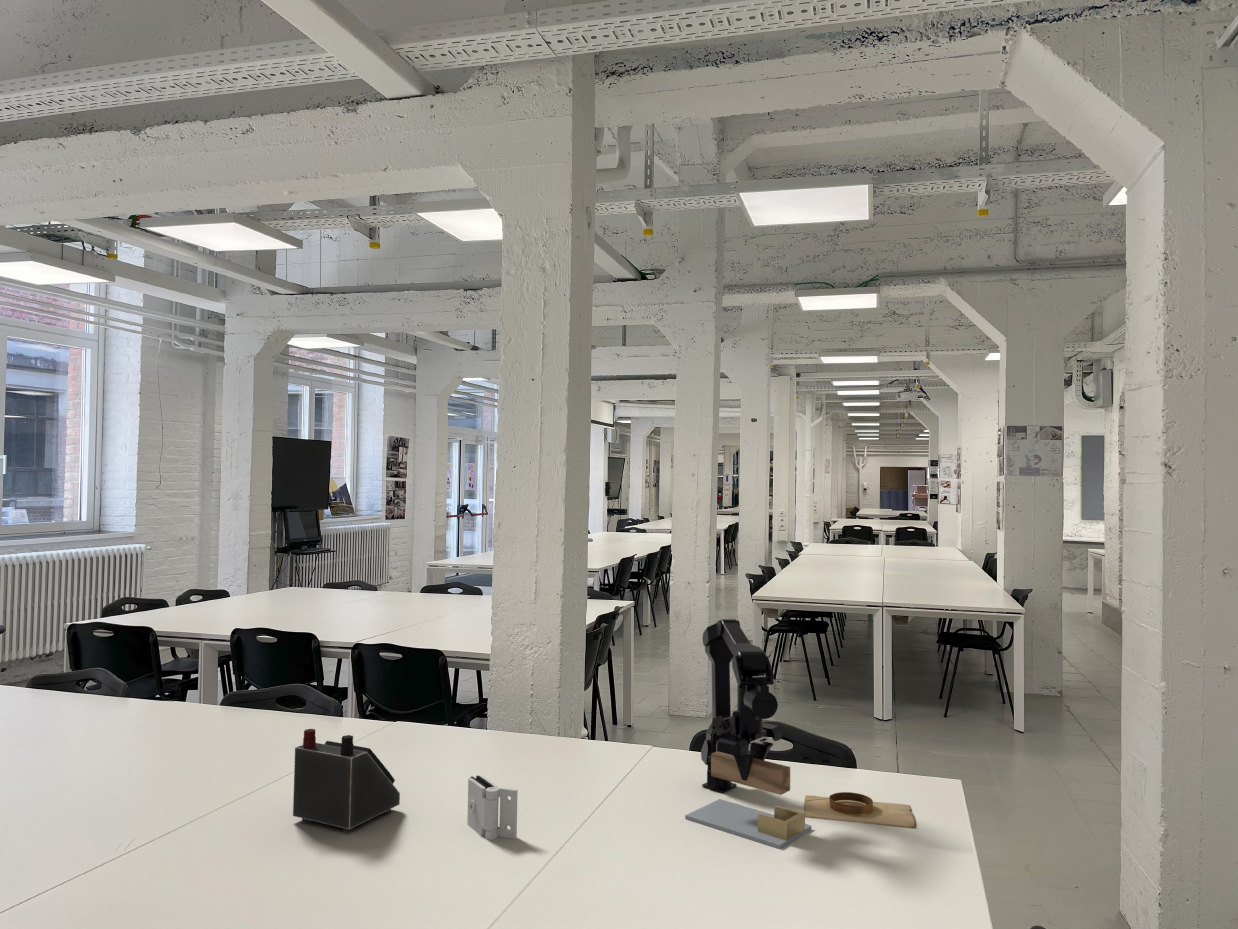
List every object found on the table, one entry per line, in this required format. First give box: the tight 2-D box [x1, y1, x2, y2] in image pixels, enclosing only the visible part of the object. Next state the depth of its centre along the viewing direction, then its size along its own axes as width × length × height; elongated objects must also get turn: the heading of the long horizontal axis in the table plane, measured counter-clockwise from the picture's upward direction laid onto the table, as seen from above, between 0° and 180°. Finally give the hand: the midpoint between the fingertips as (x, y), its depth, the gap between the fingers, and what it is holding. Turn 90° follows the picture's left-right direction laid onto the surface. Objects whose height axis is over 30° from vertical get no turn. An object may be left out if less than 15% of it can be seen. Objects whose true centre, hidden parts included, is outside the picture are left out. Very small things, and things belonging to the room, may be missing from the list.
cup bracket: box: [758, 805, 806, 841], centre depth 180 cm, size 8×7×4 cm
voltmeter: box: [292, 728, 401, 833], centre depth 187 cm, size 16×16×20 cm
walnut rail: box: [711, 751, 791, 796], centre depth 186 cm, size 4×18×5 cm, turn 50°
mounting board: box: [684, 798, 812, 850], centre depth 186 cm, size 14×24×1 cm, turn 50°
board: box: [803, 791, 917, 830], centre depth 195 cm, size 25×15×3 cm, turn 77°
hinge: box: [466, 774, 519, 840], centre depth 179 cm, size 14×5×10 cm, turn 46°
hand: (749, 777), depth 186 cm, fingers closed on walnut rail, 4 cm apart
